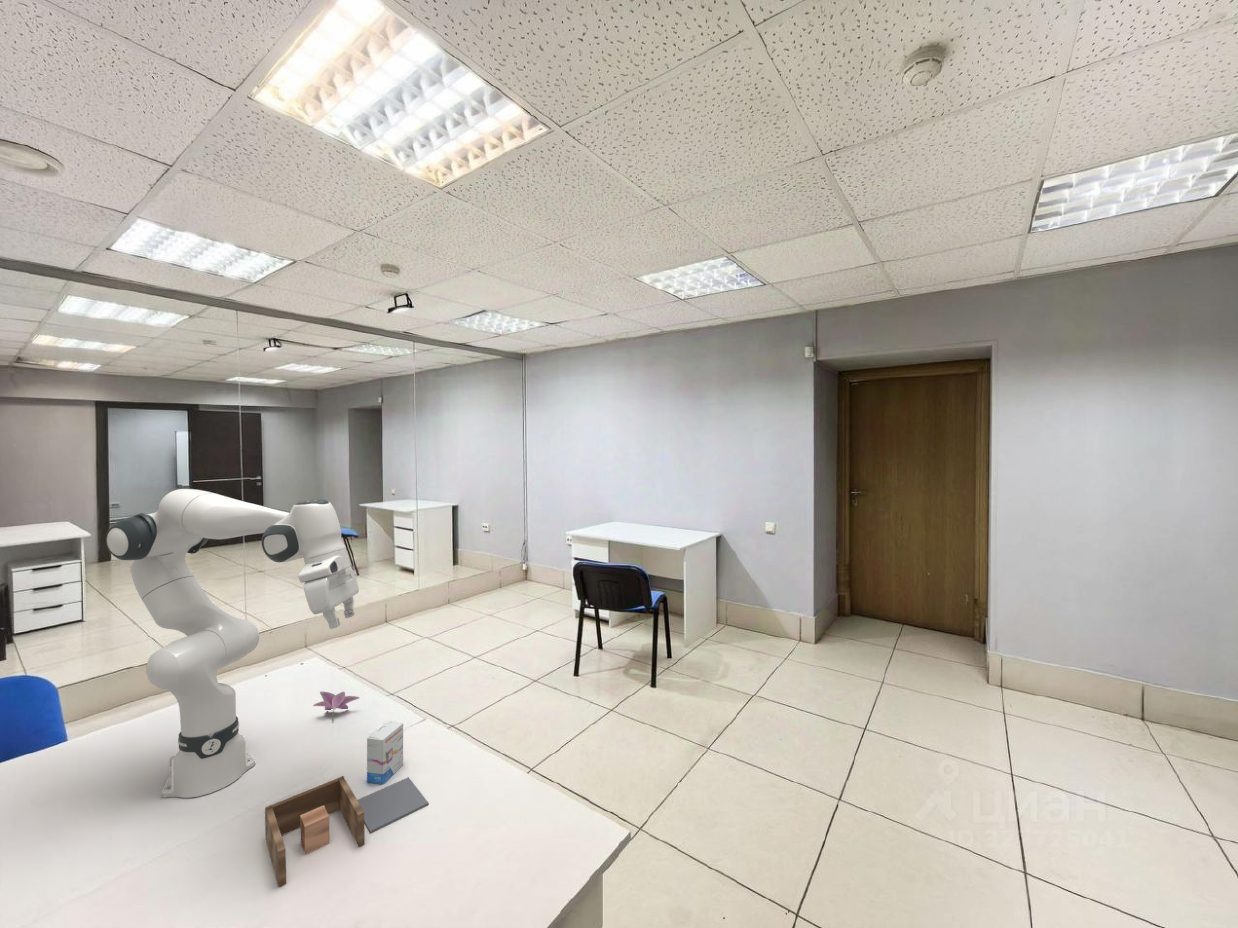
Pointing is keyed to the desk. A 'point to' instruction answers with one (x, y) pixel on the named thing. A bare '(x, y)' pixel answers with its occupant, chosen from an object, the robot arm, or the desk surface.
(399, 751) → the ink box
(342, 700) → the lily
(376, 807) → the slate mat
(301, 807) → the walnut cubby
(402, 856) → the desk surface
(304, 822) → the terracotta block
